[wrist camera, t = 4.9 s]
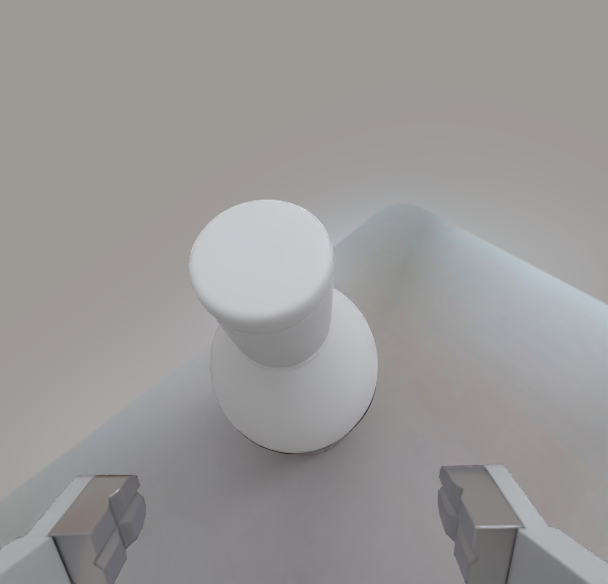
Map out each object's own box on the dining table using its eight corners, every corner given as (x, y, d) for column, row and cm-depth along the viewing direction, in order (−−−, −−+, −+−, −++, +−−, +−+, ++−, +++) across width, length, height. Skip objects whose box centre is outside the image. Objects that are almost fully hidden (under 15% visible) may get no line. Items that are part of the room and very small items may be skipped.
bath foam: (244, 404, 24) (18, 261, 6) (307, 340, 26) (269, 99, 8) (309, 477, 22) (234, 582, 4) (373, 401, 24) (519, 240, 6)
